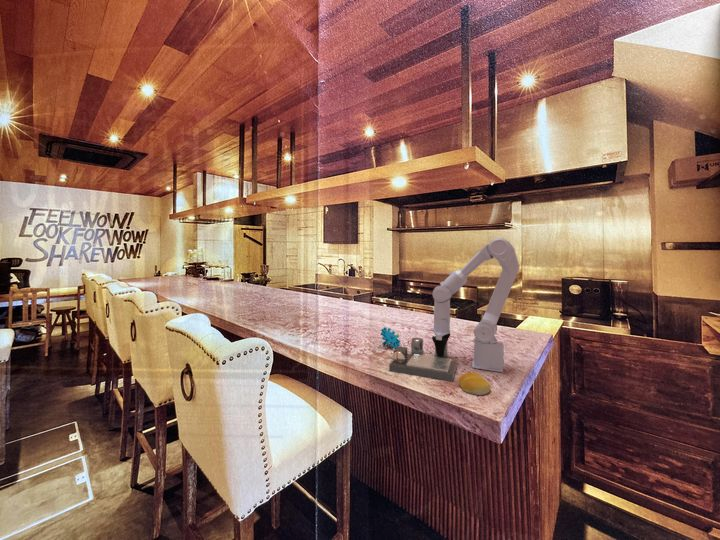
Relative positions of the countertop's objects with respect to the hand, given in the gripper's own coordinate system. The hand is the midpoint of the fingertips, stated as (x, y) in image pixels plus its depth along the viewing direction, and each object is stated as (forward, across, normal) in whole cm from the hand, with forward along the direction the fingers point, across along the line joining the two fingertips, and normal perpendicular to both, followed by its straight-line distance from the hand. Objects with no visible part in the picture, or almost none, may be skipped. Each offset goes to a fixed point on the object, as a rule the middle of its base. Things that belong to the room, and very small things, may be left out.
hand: (441, 354), depth 108 cm
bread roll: (+2, +21, +12) cm, 25 cm away
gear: (+2, -6, -21) cm, 22 cm away
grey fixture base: (+1, +13, -4) cm, 14 cm away
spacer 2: (+1, 0, 0) cm, 1 cm away
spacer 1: (+1, 0, -9) cm, 9 cm away
